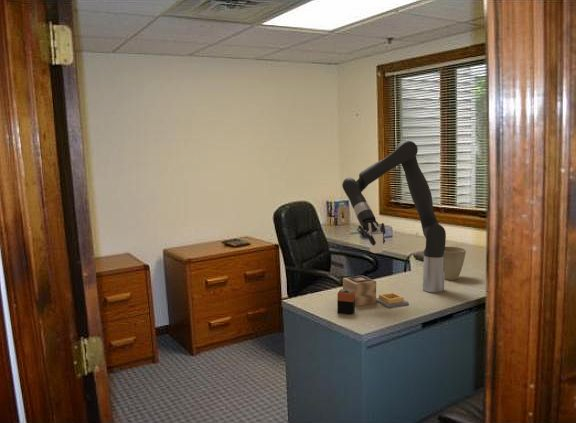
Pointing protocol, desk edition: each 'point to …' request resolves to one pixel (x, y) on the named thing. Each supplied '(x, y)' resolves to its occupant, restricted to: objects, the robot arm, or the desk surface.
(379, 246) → the plug
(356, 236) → the desk surface
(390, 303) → the orange-framed grey plate
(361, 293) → the wood grain square block
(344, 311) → the battery
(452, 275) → the plant pot
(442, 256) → the robot arm
